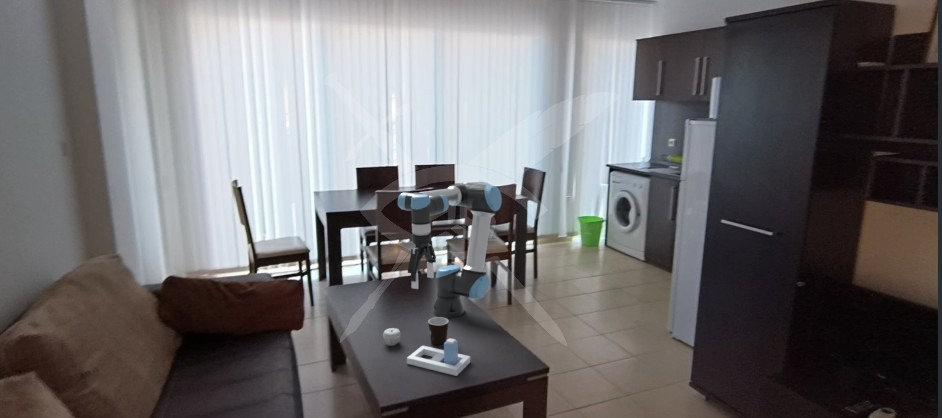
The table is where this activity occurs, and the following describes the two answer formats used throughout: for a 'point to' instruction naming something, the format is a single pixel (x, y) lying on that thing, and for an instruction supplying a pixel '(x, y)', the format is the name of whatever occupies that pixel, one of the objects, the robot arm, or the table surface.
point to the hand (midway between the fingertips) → (422, 282)
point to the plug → (451, 352)
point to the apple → (392, 336)
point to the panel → (437, 360)
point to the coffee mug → (438, 330)
